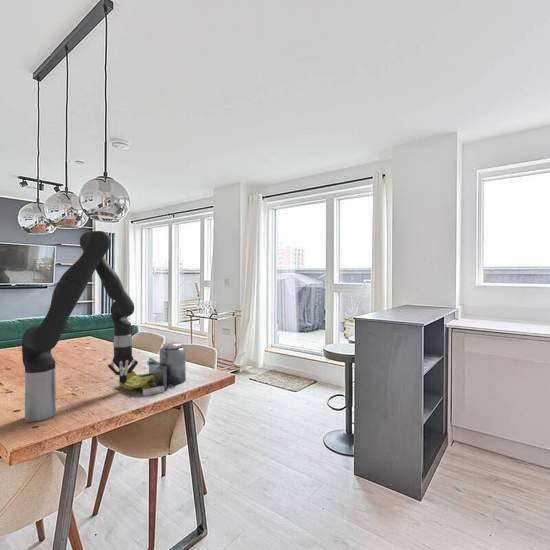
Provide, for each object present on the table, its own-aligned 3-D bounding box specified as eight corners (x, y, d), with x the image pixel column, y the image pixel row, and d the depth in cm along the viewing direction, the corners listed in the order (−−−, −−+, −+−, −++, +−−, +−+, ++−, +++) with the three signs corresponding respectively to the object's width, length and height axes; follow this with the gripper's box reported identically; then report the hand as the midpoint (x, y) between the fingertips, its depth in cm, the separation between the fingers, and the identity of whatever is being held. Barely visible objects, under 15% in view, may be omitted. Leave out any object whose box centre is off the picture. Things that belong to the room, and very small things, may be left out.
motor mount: (143, 396, 145) (142, 353, 145) (129, 381, 166) (129, 344, 166) (194, 385, 158) (194, 346, 158) (176, 373, 179) (175, 338, 179)
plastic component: (115, 382, 158) (134, 368, 165) (123, 394, 160) (141, 380, 167) (136, 387, 145) (155, 372, 152) (144, 401, 147) (162, 385, 154)
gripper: (108, 348, 146) (108, 388, 145) (140, 344, 153) (140, 382, 153) (105, 345, 152) (105, 384, 152) (136, 341, 159) (136, 378, 159)
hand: (123, 383), depth 152 cm, fingers closed
